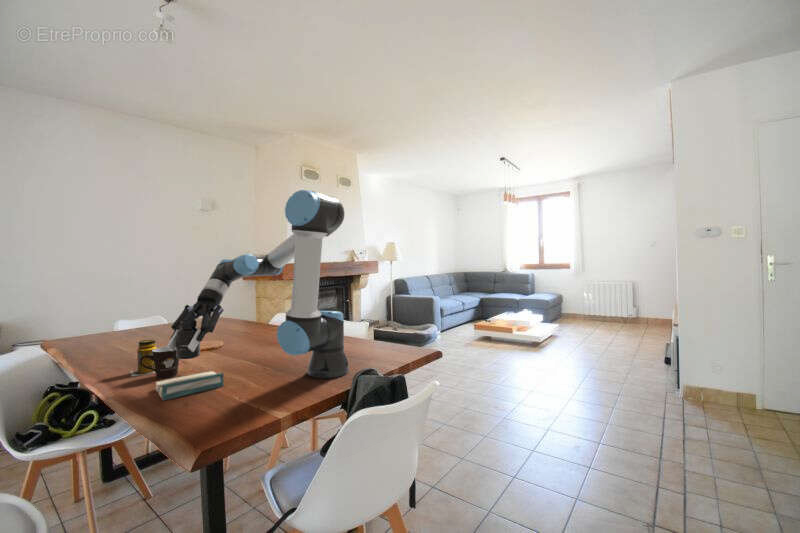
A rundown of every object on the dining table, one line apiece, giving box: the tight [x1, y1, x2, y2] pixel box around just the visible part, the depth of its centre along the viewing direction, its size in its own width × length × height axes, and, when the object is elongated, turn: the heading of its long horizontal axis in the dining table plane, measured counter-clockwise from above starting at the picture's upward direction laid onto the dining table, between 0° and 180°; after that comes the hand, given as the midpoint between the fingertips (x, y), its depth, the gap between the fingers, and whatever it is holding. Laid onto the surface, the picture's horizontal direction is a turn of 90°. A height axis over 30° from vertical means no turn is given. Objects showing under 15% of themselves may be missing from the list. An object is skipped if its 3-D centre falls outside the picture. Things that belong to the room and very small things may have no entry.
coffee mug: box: [140, 346, 180, 380], centre depth 128 cm, size 12×9×10 cm
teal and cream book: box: [155, 370, 224, 401], centre depth 115 cm, size 13×17×4 cm
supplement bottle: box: [176, 319, 201, 360], centre depth 116 cm, size 7×7×12 cm
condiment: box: [129, 339, 158, 377], centre depth 133 cm, size 7×8×12 cm
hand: (180, 349), depth 112 cm, fingers closed on supplement bottle, 7 cm apart
